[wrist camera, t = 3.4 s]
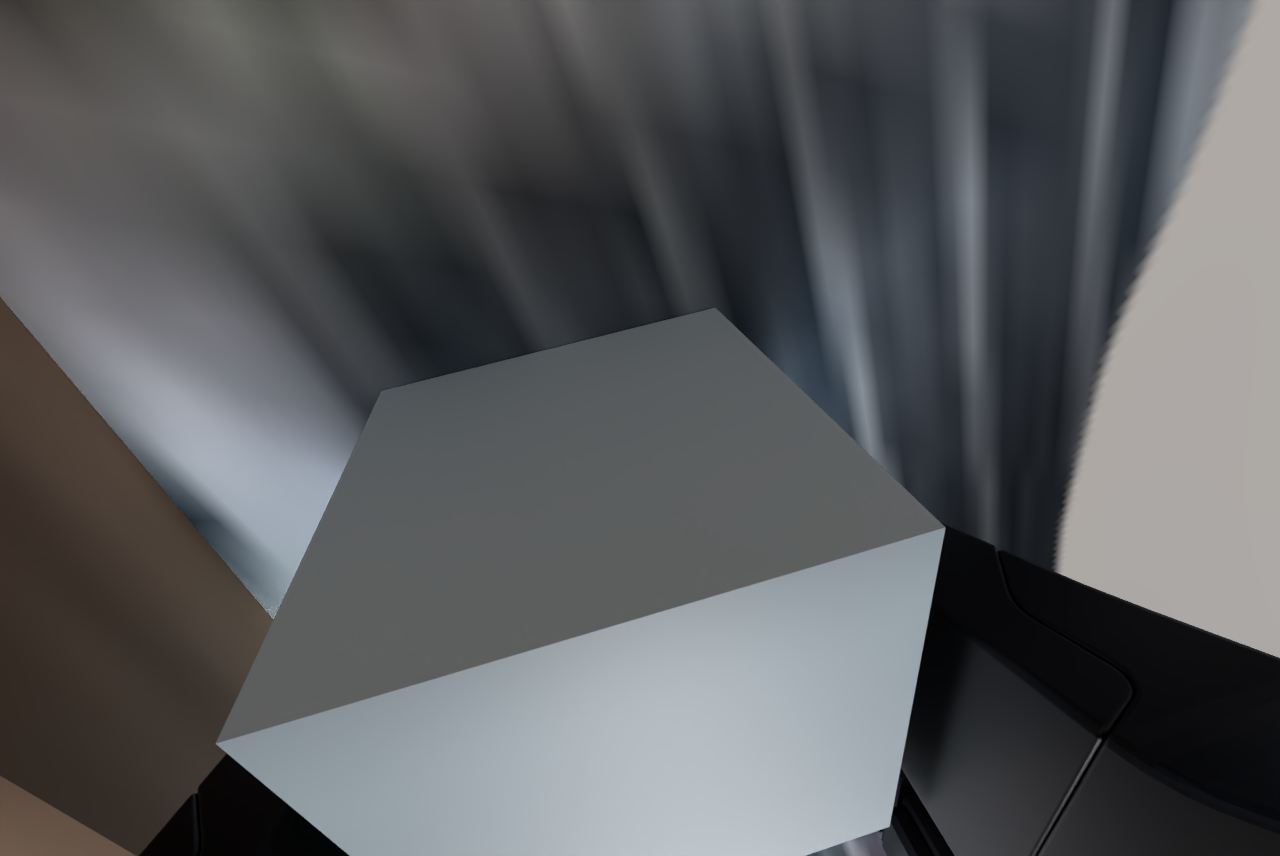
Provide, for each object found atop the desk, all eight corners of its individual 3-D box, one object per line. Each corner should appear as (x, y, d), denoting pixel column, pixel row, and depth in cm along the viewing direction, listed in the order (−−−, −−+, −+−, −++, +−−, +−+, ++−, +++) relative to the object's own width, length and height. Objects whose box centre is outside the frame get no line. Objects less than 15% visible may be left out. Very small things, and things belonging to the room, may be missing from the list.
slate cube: (715, 307, 8) (945, 527, 4) (740, 543, 11) (890, 826, 6) (380, 390, 8) (214, 743, 3) (494, 614, 10) (482, 966, 6)
